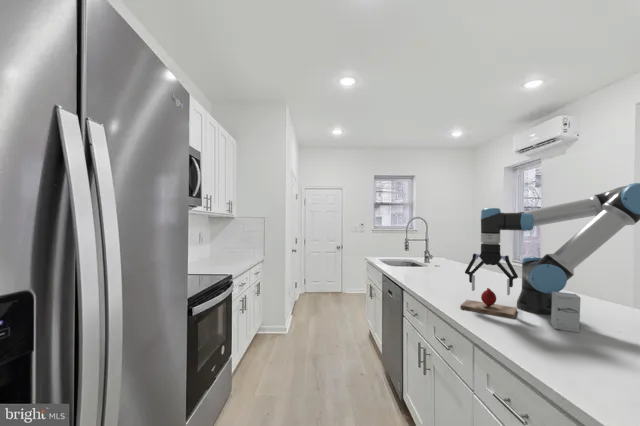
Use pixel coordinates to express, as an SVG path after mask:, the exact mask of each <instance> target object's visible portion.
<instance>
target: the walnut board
mask: <svg viewBox="0 0 640 426" xmlns="http://www.w3.org/2000/svg"><path fill="white" fill-rule="evenodd" d="M459 307H460V310H466V311H471V312H476V313H481V314H488V315H492V316H498V317H503V318H510V319H515V317H516V314H517V311H518V310H517V308H518V307H515V306H507V305H502V304H497V303H496V304H495V303H494V304H493V305H491V306H487V305H486V304H485V303H484V302H483V301H479V300H478V301H477V300H473V299H472V300H471V299H466V300H465V301H464V302H463V303H461V304H460V306H459Z"/></svg>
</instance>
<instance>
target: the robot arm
mask: <svg viewBox="0 0 640 426" xmlns="http://www.w3.org/2000/svg"><path fill="white" fill-rule="evenodd" d="M480 213H481V214H480V242H481V243H480V253H479V254H478V253H476V252H475V253H473V254H472V258H471V260H470V261H469V264H468V265H467V267H466V269H465V271H464V273H465V275H468V276H469V277H468V279H469V283H470V284H471V292H474V291H475V289H476V288H475V287H476V284H475V283H476V276H475V273H476V272H477V271H478V270H479V269H480V268H481V267H482V266H483V265H488V266H497V267H498V268H499V269H500V270H501V272H503V273H504V274H505V276H506V277H507V280H506V283H507V285H506V290H507V291H506V295H507V296H510V294H511V288H513V287H514V280H516V279H518V277H519V275H518V274H517V272H516V269H514V266H513V265H512V263H511V261H510V256H509V255H501V245H500V244H501V231H523V232H525V231H528V232H529V231H532V230H533V229H534V227H538V226H544V225H549V224H555V223H561V222H566V221H567V222H568V221H572V220H579V219H584V218H589V217H590V218H591V217H593V218H592V219H591V221H589V222H588V223H587V224H586V225H584V226H583V227H582V228H581V229H580V230H579V231H578V232H576V233H575V234H574V235H573V236H572V237H571V238H569V240H568V241H566V242H565V243H564V244H562V246H561V247H560V248H558V249H557V250H556V251H555V252H553V253H545V255H544V256H543V257H534V256H533V257H531V256H530V257H528V256H527V257H523V258H522V262H521V266H522V267H521V290H520V294H519V296H518V298H517V300H516V308H518V309H520V310H523V311H526V312H531V313H536V314H541V315H542V314H544V315H551V311H552V291H554V292H561V291H562V290H564V288H565V287H566V286H567V282H568V281H569V280H570V279H571V278H573V276H575V272H574V271H575V269H576V268H577V267H578V266H579V265H580V264H582V263H583V262H584V261H585V260H586V259H587V258H589V257H590V256H591V255H592V254H593V253H594V252H596V251H597V250H598V249H600V247H602V246H603V245H604V244H606V243H607V242H608V241H609V240H610V239H611V238H613V237H614V236H615V235H616V234H617V233H618V232H620V231H621V230H622V229H623V228H625V226H634V225H636V224H637V223H638V222H639V221H640V182H635V183H631V184H628V185H625V186H619V187H616V188H614V189H613V188H612V189H611V190H608V191H605V192H601V193H598V194H597V193H596V194H593V195H591V196H590V197H589V198H585V199H580V200H575V201H569V202H564V203H559V204H555V205H550V206H545V207H540V208H534V209H529V210H524V211H520V212H501V209H500V208H498V207H486V208H483V209H481V211H480ZM594 216H595V217H594ZM478 259H480V260H481V261H480V262H479V263H478V264H477V265H476V266H475V267H474V268H473V269H472V267H473V266H474V264H475V262H476V260H478ZM501 260H503V261H504V262H505V263H506V265H507V267H508V269H509V270H510V272H509V271H508V269H506V268H505V267H504V266H503V264H502V263H501V262H500V261H501ZM471 269H472V270H471Z"/></svg>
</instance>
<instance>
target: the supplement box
mask: <svg viewBox="0 0 640 426" xmlns="http://www.w3.org/2000/svg"><path fill="white" fill-rule="evenodd" d="M550 318H551V319H550V321H551V322H550V324H551V326H552V327H553V329H555V330H562V331H567V332H572V333H578V334H579V333H580V328H581V326H580V325H581V323H580V321H581V297H580V296H579V295H578V294H576V293H569V292H568V293H567V292H563V291H562V292H561V291H559V292H554V291H552V311H551V314H550Z"/></svg>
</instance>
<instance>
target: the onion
mask: <svg viewBox="0 0 640 426" xmlns="http://www.w3.org/2000/svg"><path fill="white" fill-rule="evenodd" d="M480 298H481V302H484V303H485V304H486V305H487V306H491V305H493V304H495V303H496V302H497V295H496V294H495V292H494V291H492V290H491V289H490V288H489V287H487V288H486V290H484V291H483V292H482V294H481V297H480Z"/></svg>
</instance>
